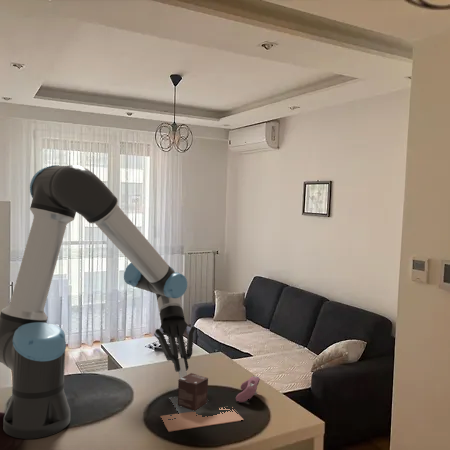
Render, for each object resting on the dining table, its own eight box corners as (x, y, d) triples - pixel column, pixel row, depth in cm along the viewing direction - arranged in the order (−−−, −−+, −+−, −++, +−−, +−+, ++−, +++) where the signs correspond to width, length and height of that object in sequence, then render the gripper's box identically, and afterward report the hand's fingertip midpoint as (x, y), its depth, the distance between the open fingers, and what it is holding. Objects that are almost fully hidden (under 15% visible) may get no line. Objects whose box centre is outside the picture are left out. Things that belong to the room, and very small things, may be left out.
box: (207, 403, 128) (209, 377, 128) (194, 411, 123) (196, 384, 123) (190, 397, 132) (191, 372, 131) (176, 405, 126) (178, 378, 126)
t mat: (151, 400, 129) (151, 399, 129) (218, 392, 137) (218, 391, 137) (168, 431, 112) (168, 430, 112) (243, 420, 120) (243, 419, 120)
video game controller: (247, 409, 130) (260, 389, 129) (233, 400, 130) (246, 380, 130) (252, 395, 139) (264, 376, 139) (239, 387, 140) (251, 368, 139)
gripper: (187, 315, 154) (201, 384, 140) (148, 317, 149) (159, 389, 135) (193, 303, 149) (208, 373, 135) (153, 305, 144) (165, 378, 130)
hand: (184, 381), depth 135 cm, fingers closed
